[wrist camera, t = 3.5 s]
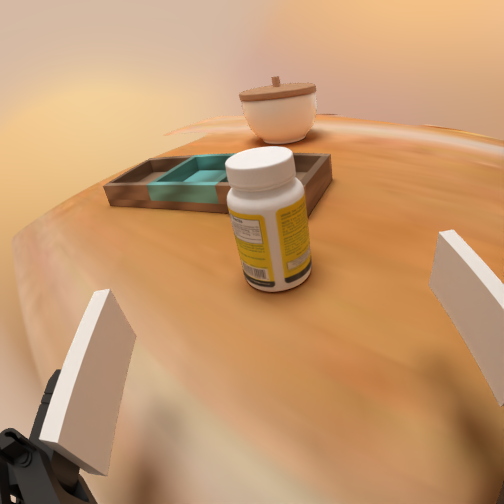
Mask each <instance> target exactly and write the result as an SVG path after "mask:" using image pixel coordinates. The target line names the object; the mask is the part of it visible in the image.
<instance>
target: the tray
mask: <svg viewBox="0 0 504 504" xmlns="http://www.w3.org/2000/svg"><path fill="white" fill-rule="evenodd" d="M235 154H237V153H233V154H208V155H189V156H174V157H161V158H150V159H148V160H146V161H144V162H143V163H141V164H139V165H137V166H136V167H134V168H132V169H130V170H129V171H127V172H125V173H124V174H122V175H120V176H119V177H117V178H115V179H114V180H112V181H110V182H109V183H107V184H106V185H104V186H103V187H104V190H105V193H106V195H107V198H108V201H109V203H110V206H126V207H144V208H161V209H176V210H191V211H204V212H217V213H229V210H228V206H227V195H228V192H229V191H230V189H231V188H232V187H230V185H229V182H228V178H227V172H226V167H225V163H226V160H227V159H228V158H230V157H231V156H233V155H235ZM293 157H294V163H295V171H296V175H295V178H297V179H298V180H299V181H300V182H301V183H302V185H303V187H304V191H305V200H306V210H307V218H308V216H309V215H310V213H311V211H312V210H313V208H314V207H315V205H316V204H317V202H318V201H319V199H320V198H321V196H322V194H323V193H324V191H325V190H326V188H327V187H328V185H329V184H330V182H331V181H332V167H331V154H318V153H293Z"/></svg>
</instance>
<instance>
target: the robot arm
mask: <svg viewBox="0 0 504 504" xmlns="http://www.w3.org/2000/svg"><path fill="white" fill-rule="evenodd" d="M429 287H430V288H431V290H432V291H433V293H434V294H435V296H436V297H437V299H438V300H439V302H440V303H441V305H442V306H443V308H444V309H445V311H446V312H447V314H448V316H449V317H450V319H451V320H452V322H453V323H454V325H455V327H456V328H457V330H458V332H459V333H460V335H461V337H462V338H463V340H464V342H465V343H466V345H467V347H468V348H469V350H470V352H471V353H472V355H473V357H474V359H475V361H476V362H477V364H478V366H479V368H480V370H481V371H482V373H483V375H484V377H485V379H486V381H487V383H488V384H489V386H490V388H491V390H492V392H493V394H494V396H495V398H496V400H497V402H498V404H499V406H500V407H501V406H503V405H504V284H503V283H502V282H501V281H500V280H499V279H498V277H497V276H496V275H495V274H494V273H493V272H492V270H491V269H490V268H489V267H488V266H487V265H486V264H485V263H484V261H483V260H482V259H481V258H480V257H479V256H478V255H477V254H476V253H475V252H474V251H473V250H472V249H471V247H470V246H469V245H468V244H467V243H466V242H465V241H464V240H463V239H462V238H461V237H460V236H459V235H458V234H457V233H456V232H455V231H454V230H449V231H443V232H439V233H438V239H437V245H436V251H435V256H434V262H433V267H432V272H431V276H430V281H429ZM135 339H136V334H135V333H134V331H133V329H132V328H131V326H130V324H129V322H128V321H127V319H126V317H125V315H124V313H123V312H122V310H121V308H120V306H119V304H118V303H117V301H116V299H115V297H114V295H113V293H112V291H111V289H106V290H99V291H95V292H94V294H93V296H92V298H91V300H90V302H89V305H88V307H87V309H86V311H85V314H84V316H83V318H82V320H81V323H80V325H79V327H78V330H77V332H76V334H75V337H74V339H73V342H72V344H71V347H70V349H69V352H68V354H67V357H66V359H65V362H64V365H63V367H62V370H56V371H55V372H54V374H53V375H52V376H51V378H50V379H49V381H48V383H47V386H46V389H45V392H44V393H45V395H43V397H42V400H41V405H40V406H39V409H38V412H37V415H36V418H35V422H34V425H33V428H32V431H31V434H30V437H29V440H28V439H27V438H25V437H24V436H23V435H22V434H20V433H19V432H18V431H17V430H15V429H13V428H8V429H5V430H4V431H2V432H1V433H0V504H98V503H97V502H96V500H95V498H94V497H93V495H92V493H91V491H90V490H89V488H88V486H87V484H86V482H85V481H84V479H83V477H82V476H81V475H80V474H79V470H80V468H81V469H83V470H84V471H86V472H88V473H89V474H95V475H101V476H108V470H109V463H110V457H111V451H112V445H113V440H114V434H115V429H116V423H117V418H118V413H119V408H120V403H121V399H122V394H123V389H124V385H125V380H126V376H127V372H128V368H129V363H130V359H131V355H132V351H133V347H134V343H135ZM10 494H11V495H13V496H15V497H16V503H14V502H12V501H11V496H10ZM496 504H504V482H503V485H502V488H501V491H500V494H499V497H498V500H497V503H496Z"/></svg>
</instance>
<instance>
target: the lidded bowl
mask: <svg viewBox="0 0 504 504" xmlns="http://www.w3.org/2000/svg"><path fill="white" fill-rule="evenodd" d="M272 83H273V85H271V86H265V87H259V88H255V89H250V90H246V91H243V92H241V93H240V94H239V97H240V100H241V102H242V107H243V112H244V115H245V118H246V121H247V123H248V125H249V127H250V128H251V130H252V131H253V132H254V133H255V134H256V135H257V136H259V137H260V138H262V139H263V140H264V142H265V143H268V144H287V143H293V142H297V141H300V140H302V139H304V138H305V135H306V134H307V133H308V131H309V130H310V129H311V127H312V126H313V124H314V121H315V118H316V111H317V103H316V94H315V91H316V86H315V84H312V83H290V84H280V80H279V77H278V76H277V77H272Z"/></svg>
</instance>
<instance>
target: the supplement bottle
mask: <svg viewBox="0 0 504 504" xmlns="http://www.w3.org/2000/svg"><path fill="white" fill-rule="evenodd" d="M225 167H226V172H227V178H228V182H229V185H230V187H232V188H231V189H230V191H229V192H228V195H227V206H228V210H229V214H230V218H231V222H232V227H233V231H234V235H235V239H236V243H237V247H238V251H239V255H240V259H241V263H242V267H243V271H244V275H245V278H246V280H247V281H248V283H249V284H250V285H252V286H253V287H255V288H257V289H259V290H262V291H268V292H277V291H283V290H287V289H290V288H293V287H295V286H297V285H299V284H301V283H302V282H303V281H304V280H305V279H306V278H307V277H308V276H309V274H310V271H311V251H310V240H309V229H308V219H307V210H306V200H305V191H304V187H303V185H302V183H301V182H300V181H299V180H298V179H297V178H295V175H296V171H295V163H294V157H293V153H292V151H291V150H290V149H288V148H285V147H278V146H269V147H259V148H253V149H249V150H246V151H242V152H239V153H237V154H235V155H233V156H231V157H230V158H228V159H227V160H226V163H225Z"/></svg>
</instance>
